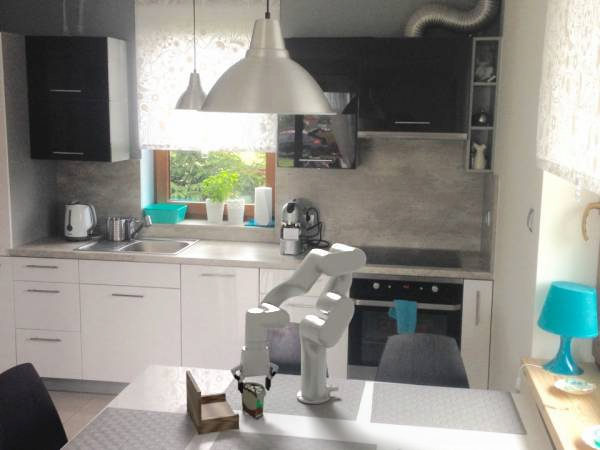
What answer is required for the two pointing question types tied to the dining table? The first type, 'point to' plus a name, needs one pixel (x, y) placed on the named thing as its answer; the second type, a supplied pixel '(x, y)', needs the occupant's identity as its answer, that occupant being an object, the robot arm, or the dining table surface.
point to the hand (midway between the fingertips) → (254, 390)
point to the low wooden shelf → (209, 409)
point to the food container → (253, 399)
